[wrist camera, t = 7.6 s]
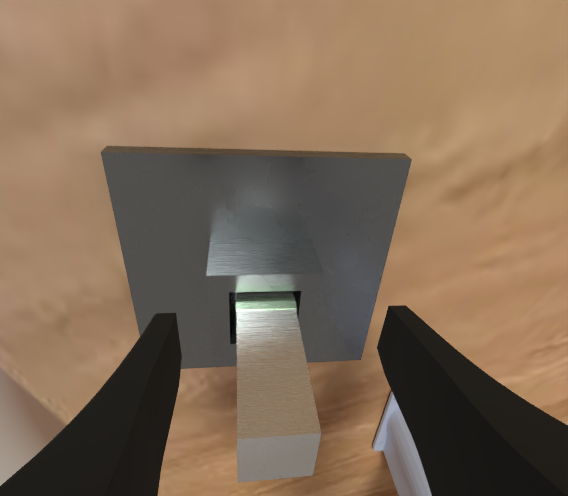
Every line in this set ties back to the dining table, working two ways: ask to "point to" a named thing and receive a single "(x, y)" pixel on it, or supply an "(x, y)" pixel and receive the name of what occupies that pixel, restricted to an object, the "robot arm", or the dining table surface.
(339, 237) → the stand
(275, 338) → the post
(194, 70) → the dining table surface
